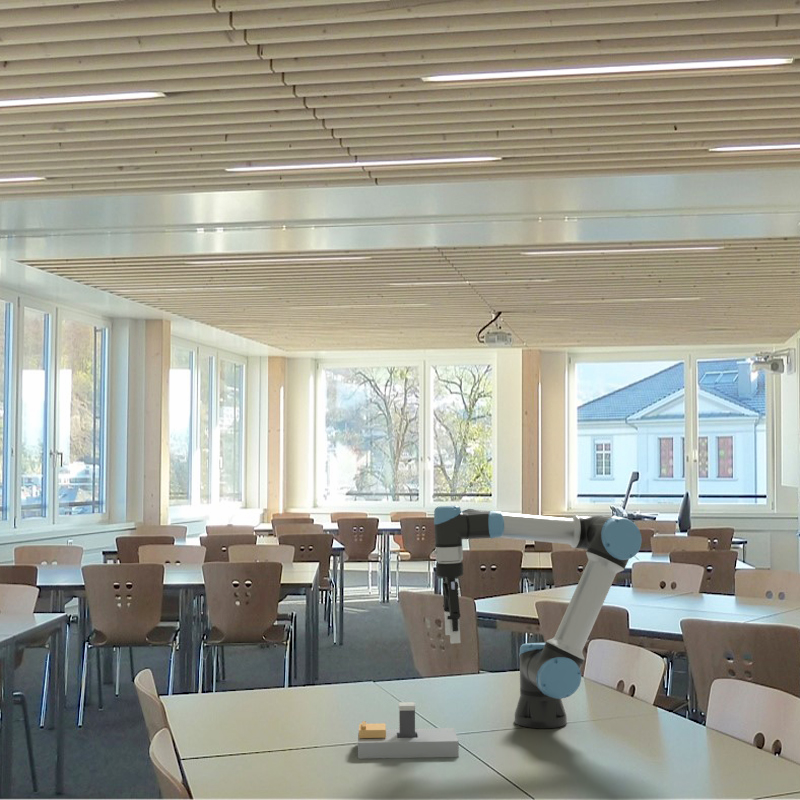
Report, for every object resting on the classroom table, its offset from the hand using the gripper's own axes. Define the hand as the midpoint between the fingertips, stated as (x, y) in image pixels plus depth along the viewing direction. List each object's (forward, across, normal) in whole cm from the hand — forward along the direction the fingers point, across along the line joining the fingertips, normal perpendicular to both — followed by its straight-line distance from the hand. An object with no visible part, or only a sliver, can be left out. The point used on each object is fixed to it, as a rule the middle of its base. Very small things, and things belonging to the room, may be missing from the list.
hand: (452, 639), depth 299 cm
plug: (+27, +11, -14) cm, 32 cm away
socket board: (+27, +11, -14) cm, 32 cm away
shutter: (+22, +11, -24) cm, 34 cm away
